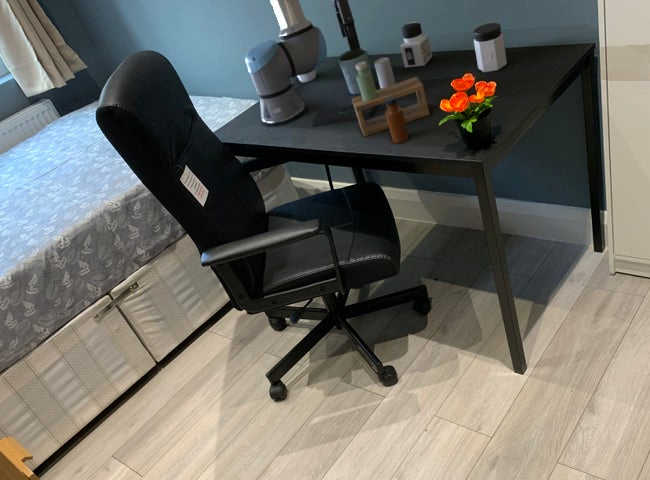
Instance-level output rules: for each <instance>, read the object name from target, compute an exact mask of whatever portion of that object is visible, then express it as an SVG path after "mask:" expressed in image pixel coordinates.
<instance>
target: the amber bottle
mask: <svg viewBox="0 0 650 480" xmlns="http://www.w3.org/2000/svg"><path fill="white" fill-rule="evenodd" d="M384 104H385V106H386V108H387V109H386V111H385V114H386V117H387V121H388V125H389V128H388V130H389V132H390V136H391V140H392V143H393V144H394V143H395V144H402V143H404V142H406V141H407V140H408V139H410V138H409V132H408V128H407V122H406V123H405V119H404V115H403V111H402V109H403V108H402V107H401V106H398V98H396V96H390V97H387V98H386V99H385V102H384ZM385 114H384V115H385Z"/></svg>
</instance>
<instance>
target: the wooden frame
mask: <svg viewBox="0 0 650 480" xmlns="http://www.w3.org/2000/svg"><path fill="white" fill-rule="evenodd" d="M376 92H377V97H376V98H375V99H373V100H370V101H364V100H363V99H362V95H359V96H356V97H353V98H351V101H352V105H354V108H355V112H356V115H357V118H358V119H357V121H358V125H359V128H360V130H361V132H362V134H363V137H364V138H365V137H367V136H371V135H374V134H376V133H379V132H382V131H385V130H389V125H388V121H387V117H386V114H382V115H379V116H376V117H373V118H370V119H368V120H365V118H363V115H362V112H361V110H364V109H367V108H370V107H372V106H375V105H377V106H378V105H381V104H385V99H386V98H387V97H390V96H396V98H397V99H399V98H402V97H404V96H405V97H406V96H408V95H410V94H414V93H415V95H416V100H417V103H415V104H412V105H409V106H406V107H403V108H402V111H403V115H404V119H405V123H406V124H407V123H409V122H412V121H415V120H417V119H421V118H423V117H427V116H430V111H429V106H428V101H427V98H426V93H425V88H424V84H423V83H422V82H421V81H420V79H419V78H418V77H417V76H415V77H411V78H408V79H405V80H403V81H400V82H397V83H395V84H394V85H391V86H388V87H385V88H382V89H381V88H379V89H376Z"/></svg>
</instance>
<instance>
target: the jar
mask: <svg viewBox="0 0 650 480" xmlns="http://www.w3.org/2000/svg"><path fill="white" fill-rule="evenodd" d="M501 27H502V26H501V23H497V22H490V23H484V24H482V25H480V26H477V27H476V28H475V29H473V36H474V39H473V44H474V52H475V57H476V62H477V68H478V70H480V71H482V73H489V72H490V73H491V72H497V71H499V70H501V69H502V68H503V67H505V66H506V65H508V62H507V55H506V48H505V40H504V34H503V33H502V28H501Z"/></svg>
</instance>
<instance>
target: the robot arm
mask: <svg viewBox="0 0 650 480" xmlns="http://www.w3.org/2000/svg"><path fill="white" fill-rule="evenodd" d="M269 1H270V4H271V6H272V9H273V11H274V14H275V17H276V19H277V21H278V25H279V27H280V31H279V33H278V37H279V41H278V42H277V41H276V40H275V39H269V40H266V41H263V42H261V43H259V44H257V45H256V46H254V47H253V48H251V49H250V50H249V51H248V52H247V54H246V55H245V58H244V59H245V64H246V68H247V72H248V74H249V76H250V78H251V80H252V83H253V85H254V89H255V90H256V93H257V95H258V98H259V103H260V116H261V120H262V123H263V125H266V126H270V127H271V126H280V125H283V124H287V123H289V122H291V121H294V120H296V119H297V118H299V117H300V116H302V115H303V114H304V113H305V112H306V105H305V103H304V100H303V99H302V98H301V97H300V95H299V94H298V93H297V92H296V90H295V89H294V86H295V85H296V84H297V82H298V80H299V78H298V77H297V76H298V75H300V74H302V73H304V72H306V71H309V70H311V69H315V70H316V68H317V67H319V66H321V65H323V64H325V62H326V61H327V60H326V59H327V55H328V47H327V42H326V38H325V35H324V34H323V33H322V30H321V28H319V27H318V26H314V24H313V22H312V21H311V20H309V19H307V18H306V16H305V13H304V10H303V8H302V5H301V2H300V0H269ZM331 1H332V7H333V8H334V11H335V15H336V18H337V21H338V26H339V29H340V33H341V36H342V39H344V38H346V40H347V44H348V47H349V50H350V51H351V52H352V51H355V50H358V49H361V48H362V47H361V44H360V40H359V37H358V33H357V29H356V25H355V19H354V17H353V13H352V10H351V7H350V3H349V0H331ZM291 79H294V80H293V82H291Z"/></svg>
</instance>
